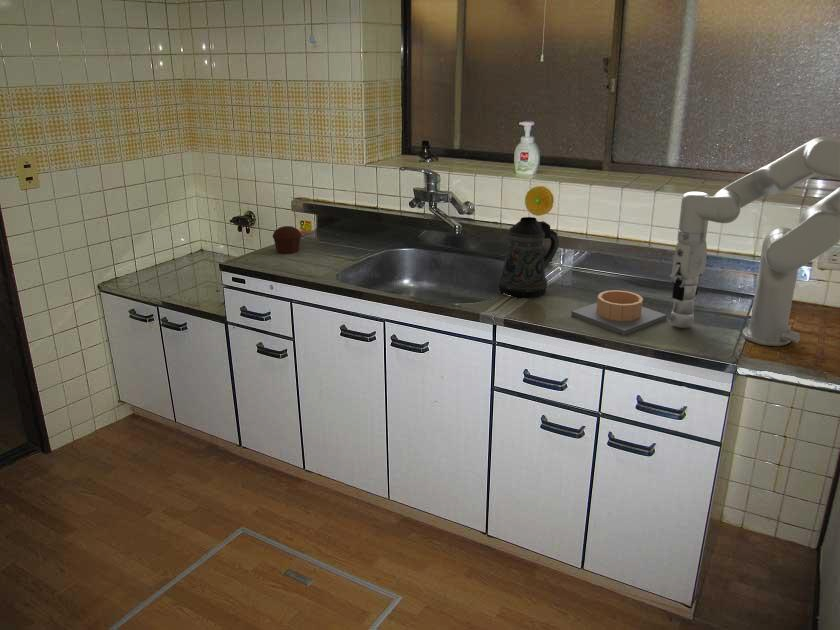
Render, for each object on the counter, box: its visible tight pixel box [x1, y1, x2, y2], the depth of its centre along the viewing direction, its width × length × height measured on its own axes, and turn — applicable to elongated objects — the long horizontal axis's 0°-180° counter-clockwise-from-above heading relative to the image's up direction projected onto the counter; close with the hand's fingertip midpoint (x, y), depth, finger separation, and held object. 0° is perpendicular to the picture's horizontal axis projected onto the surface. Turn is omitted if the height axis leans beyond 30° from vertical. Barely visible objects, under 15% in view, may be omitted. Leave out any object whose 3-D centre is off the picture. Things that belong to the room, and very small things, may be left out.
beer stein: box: [497, 216, 560, 299], centre depth 238 cm, size 16×19×25 cm
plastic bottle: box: [669, 274, 700, 329], centre depth 207 cm, size 6×7×20 cm
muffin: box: [272, 225, 303, 255], centre depth 288 cm, size 12×11×10 cm
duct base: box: [571, 289, 667, 336], centre depth 217 cm, size 20×20×6 cm
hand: (684, 296), depth 207 cm, fingers closed on plastic bottle, 6 cm apart
